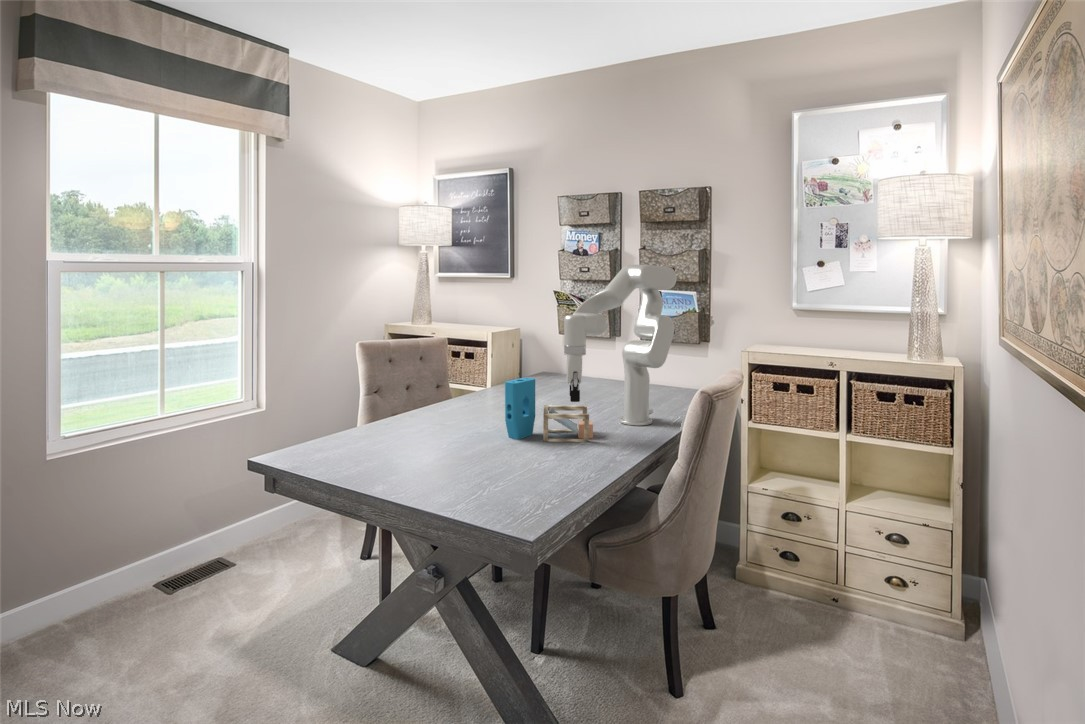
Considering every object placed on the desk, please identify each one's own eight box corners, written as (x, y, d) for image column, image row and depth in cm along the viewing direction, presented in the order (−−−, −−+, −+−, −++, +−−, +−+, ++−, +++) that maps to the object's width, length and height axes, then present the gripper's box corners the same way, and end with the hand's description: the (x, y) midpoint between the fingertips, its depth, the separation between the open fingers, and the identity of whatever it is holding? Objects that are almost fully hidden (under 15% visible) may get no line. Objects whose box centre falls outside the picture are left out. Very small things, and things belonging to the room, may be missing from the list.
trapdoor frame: (586, 431, 233) (586, 405, 231) (588, 441, 218) (589, 414, 217) (544, 430, 233) (544, 405, 231) (543, 441, 218) (543, 414, 217)
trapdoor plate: (575, 426, 230) (577, 423, 230) (576, 433, 220) (579, 430, 220) (548, 409, 230) (551, 406, 229) (548, 416, 219) (550, 412, 219)
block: (515, 440, 220) (514, 383, 217) (504, 438, 223) (503, 382, 220) (536, 433, 229) (536, 378, 226) (525, 431, 232) (525, 377, 229)
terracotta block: (577, 434, 228) (591, 434, 228) (578, 438, 223) (592, 438, 223) (578, 421, 227) (592, 421, 227) (578, 424, 222) (593, 424, 222)
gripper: (563, 347, 230) (563, 394, 232) (564, 353, 213) (564, 403, 215) (584, 347, 230) (584, 394, 232) (587, 353, 212) (586, 404, 215)
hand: (574, 398), depth 224 cm, fingers open, 9 cm apart
